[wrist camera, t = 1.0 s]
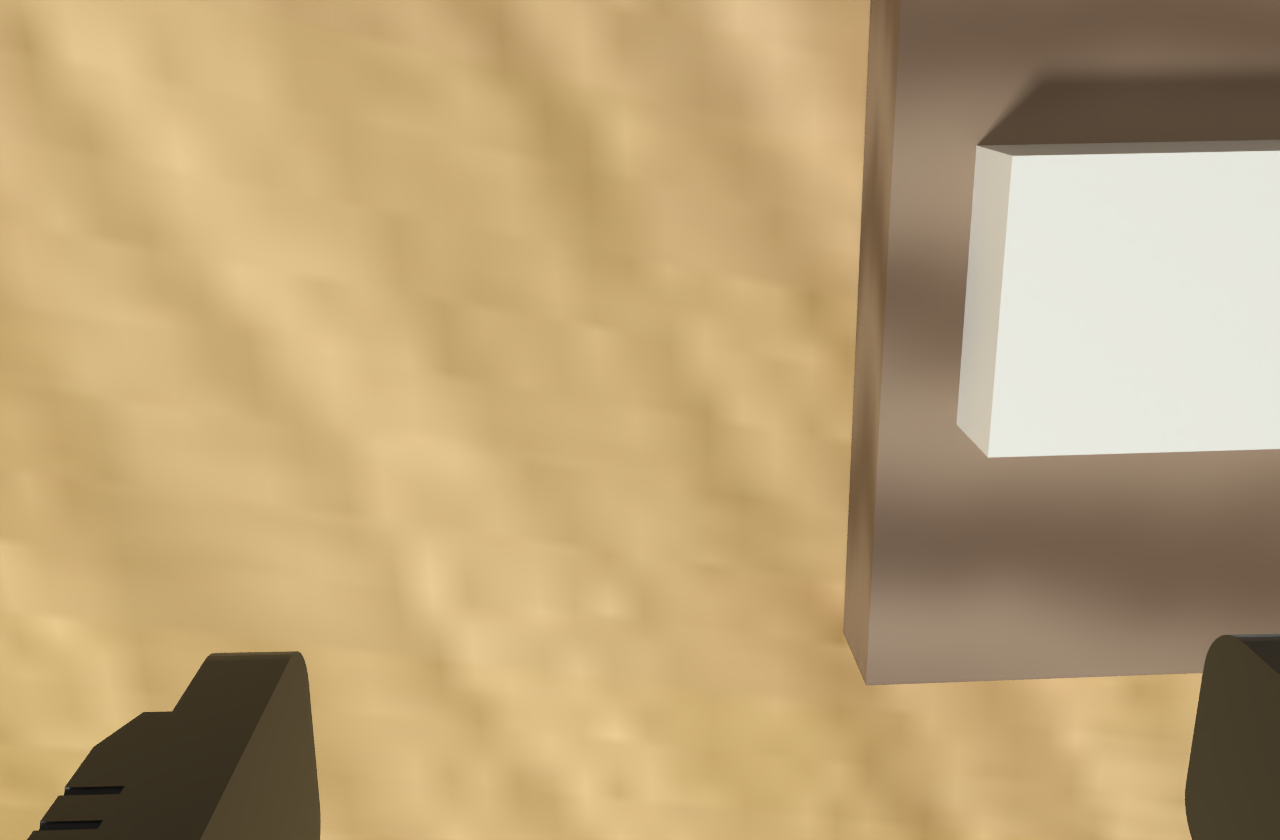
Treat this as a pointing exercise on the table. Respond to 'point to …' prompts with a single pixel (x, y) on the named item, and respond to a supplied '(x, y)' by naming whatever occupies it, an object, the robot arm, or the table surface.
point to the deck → (932, 347)
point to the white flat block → (1123, 299)
